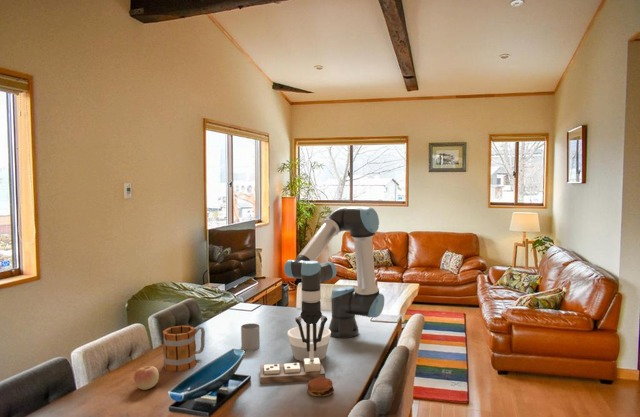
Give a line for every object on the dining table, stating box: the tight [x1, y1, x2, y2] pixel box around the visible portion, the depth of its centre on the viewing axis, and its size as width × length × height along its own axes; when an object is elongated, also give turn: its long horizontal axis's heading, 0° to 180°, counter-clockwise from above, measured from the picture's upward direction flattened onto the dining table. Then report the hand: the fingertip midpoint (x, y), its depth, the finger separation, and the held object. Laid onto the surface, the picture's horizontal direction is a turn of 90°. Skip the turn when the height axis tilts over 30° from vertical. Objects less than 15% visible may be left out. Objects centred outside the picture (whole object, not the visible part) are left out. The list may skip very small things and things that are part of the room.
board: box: [259, 361, 326, 385], centre depth 192 cm, size 25×12×2 cm, turn 97°
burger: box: [306, 377, 335, 398], centre depth 176 cm, size 10×9×5 cm
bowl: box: [286, 324, 331, 362], centre depth 212 cm, size 19×19×11 cm
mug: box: [162, 325, 206, 372], centre depth 206 cm, size 20×14×15 cm
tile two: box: [283, 362, 300, 373], centre depth 192 cm, size 6×6×4 cm
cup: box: [240, 323, 261, 351], centre depth 224 cm, size 8×8×10 cm
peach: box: [133, 365, 160, 391], centre depth 182 cm, size 9×9×8 cm
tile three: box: [263, 363, 280, 374], centre depth 191 cm, size 6×6×4 cm
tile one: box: [303, 358, 321, 372], centre depth 192 cm, size 6×6×4 cm
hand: (311, 358), depth 192 cm, fingers closed
